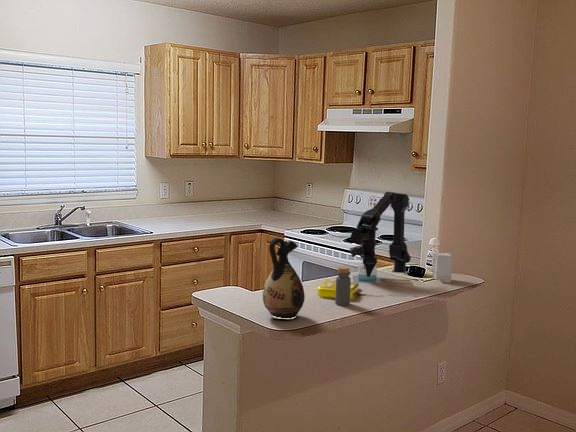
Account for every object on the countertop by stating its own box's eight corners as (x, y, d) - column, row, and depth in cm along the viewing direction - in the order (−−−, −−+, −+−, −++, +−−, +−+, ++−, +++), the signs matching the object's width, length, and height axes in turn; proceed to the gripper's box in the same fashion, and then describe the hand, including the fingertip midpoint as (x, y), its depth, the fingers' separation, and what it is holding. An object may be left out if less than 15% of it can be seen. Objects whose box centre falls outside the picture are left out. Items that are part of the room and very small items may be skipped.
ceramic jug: (284, 308, 229) (286, 232, 225) (312, 318, 218) (315, 238, 214) (250, 316, 218) (251, 236, 213) (278, 327, 207) (280, 243, 202)
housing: (375, 278, 273) (375, 266, 272) (376, 281, 268) (376, 269, 267) (357, 277, 273) (358, 265, 273) (358, 280, 268) (359, 268, 268)
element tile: (351, 302, 241) (352, 290, 241) (316, 297, 246) (316, 286, 245) (359, 292, 255) (359, 282, 255) (326, 288, 260) (326, 278, 259)
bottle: (345, 307, 233) (347, 269, 231) (332, 304, 236) (334, 267, 234) (352, 303, 238) (353, 267, 236) (339, 300, 241) (340, 265, 239)
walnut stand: (383, 282, 273) (383, 279, 272) (409, 283, 272) (410, 279, 272) (387, 289, 261) (387, 285, 261) (414, 290, 260) (414, 286, 260)
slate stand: (352, 278, 277) (352, 275, 277) (378, 279, 277) (378, 276, 276) (354, 285, 265) (354, 282, 265) (381, 286, 265) (381, 283, 265)
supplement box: (451, 282, 275) (453, 256, 273) (435, 282, 275) (437, 255, 273) (447, 278, 282) (449, 253, 280) (431, 278, 282) (433, 252, 280)
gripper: (349, 236, 278) (348, 268, 280) (352, 244, 259) (351, 278, 261) (373, 237, 277) (371, 269, 279) (378, 244, 259) (376, 279, 261)
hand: (367, 274), depth 270 cm, fingers open, 9 cm apart
